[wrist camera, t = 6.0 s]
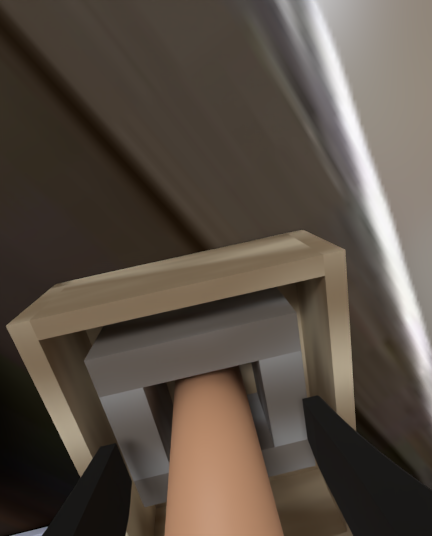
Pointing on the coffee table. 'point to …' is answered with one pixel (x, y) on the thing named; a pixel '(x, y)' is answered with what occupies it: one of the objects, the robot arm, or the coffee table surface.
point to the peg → (217, 462)
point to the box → (199, 363)
